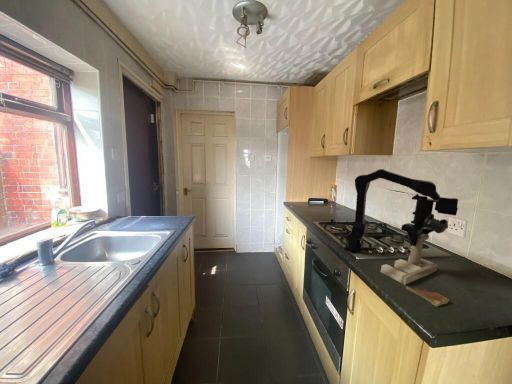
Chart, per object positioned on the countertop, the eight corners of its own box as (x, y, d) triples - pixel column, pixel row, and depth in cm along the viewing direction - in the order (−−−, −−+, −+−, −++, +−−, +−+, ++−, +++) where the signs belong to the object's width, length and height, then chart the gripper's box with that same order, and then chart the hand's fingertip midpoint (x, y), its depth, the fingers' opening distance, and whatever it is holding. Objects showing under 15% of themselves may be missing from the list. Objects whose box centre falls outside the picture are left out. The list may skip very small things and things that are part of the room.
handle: (423, 270, 93) (429, 237, 90) (405, 266, 96) (411, 234, 93) (421, 265, 97) (427, 234, 95) (404, 261, 100) (410, 231, 98)
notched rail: (380, 272, 93) (381, 265, 92) (411, 260, 103) (412, 254, 103) (405, 284, 84) (406, 277, 83) (436, 270, 95) (437, 264, 94)
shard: (404, 289, 82) (405, 284, 82) (418, 285, 85) (418, 281, 84) (435, 308, 72) (436, 303, 72) (450, 303, 75) (451, 298, 74)
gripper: (434, 218, 81) (427, 257, 84) (457, 213, 89) (450, 248, 92) (403, 211, 91) (397, 245, 93) (426, 207, 99) (421, 238, 102)
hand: (417, 244), depth 95 cm, fingers closed on handle, 5 cm apart
